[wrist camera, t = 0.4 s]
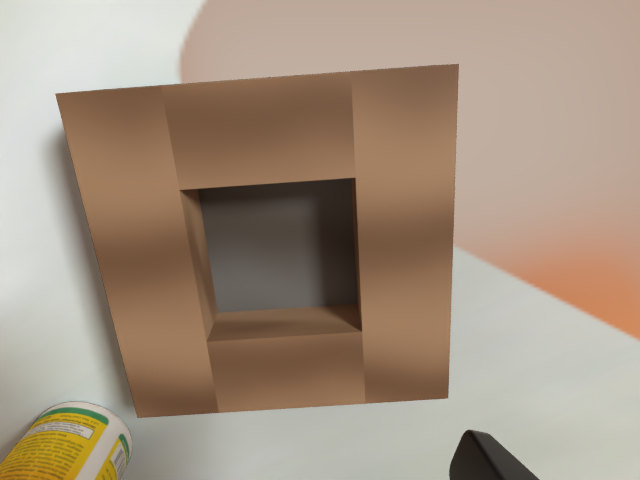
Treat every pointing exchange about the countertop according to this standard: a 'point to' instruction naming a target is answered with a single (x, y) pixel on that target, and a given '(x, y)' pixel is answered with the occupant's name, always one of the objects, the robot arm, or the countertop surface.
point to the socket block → (274, 236)
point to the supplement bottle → (71, 446)
